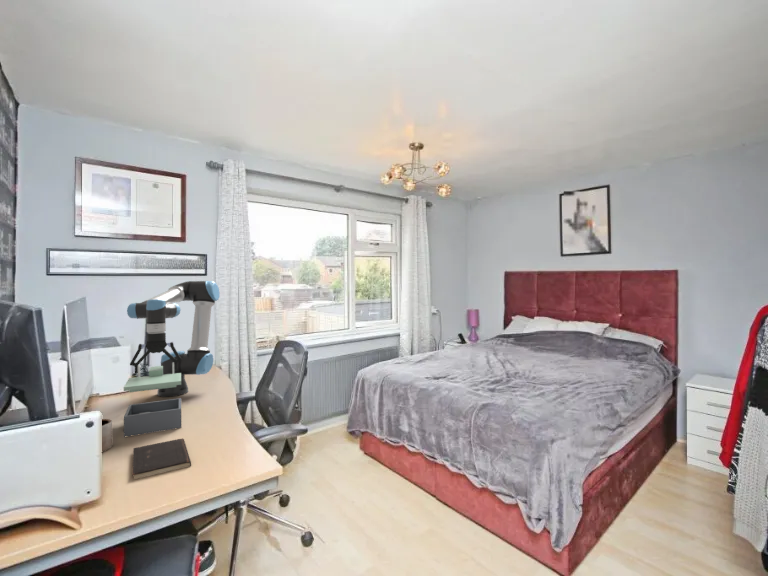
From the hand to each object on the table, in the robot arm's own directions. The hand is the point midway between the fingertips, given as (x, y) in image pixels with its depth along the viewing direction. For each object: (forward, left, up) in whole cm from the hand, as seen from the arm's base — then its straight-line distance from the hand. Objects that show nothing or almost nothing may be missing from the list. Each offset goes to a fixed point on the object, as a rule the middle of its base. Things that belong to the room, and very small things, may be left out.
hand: (156, 378), depth 172 cm
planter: (+32, -18, -18) cm, 41 cm away
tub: (+14, 0, -17) cm, 22 cm away
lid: (+10, 0, 0) cm, 9 cm away
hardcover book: (+53, +4, -18) cm, 56 cm away
